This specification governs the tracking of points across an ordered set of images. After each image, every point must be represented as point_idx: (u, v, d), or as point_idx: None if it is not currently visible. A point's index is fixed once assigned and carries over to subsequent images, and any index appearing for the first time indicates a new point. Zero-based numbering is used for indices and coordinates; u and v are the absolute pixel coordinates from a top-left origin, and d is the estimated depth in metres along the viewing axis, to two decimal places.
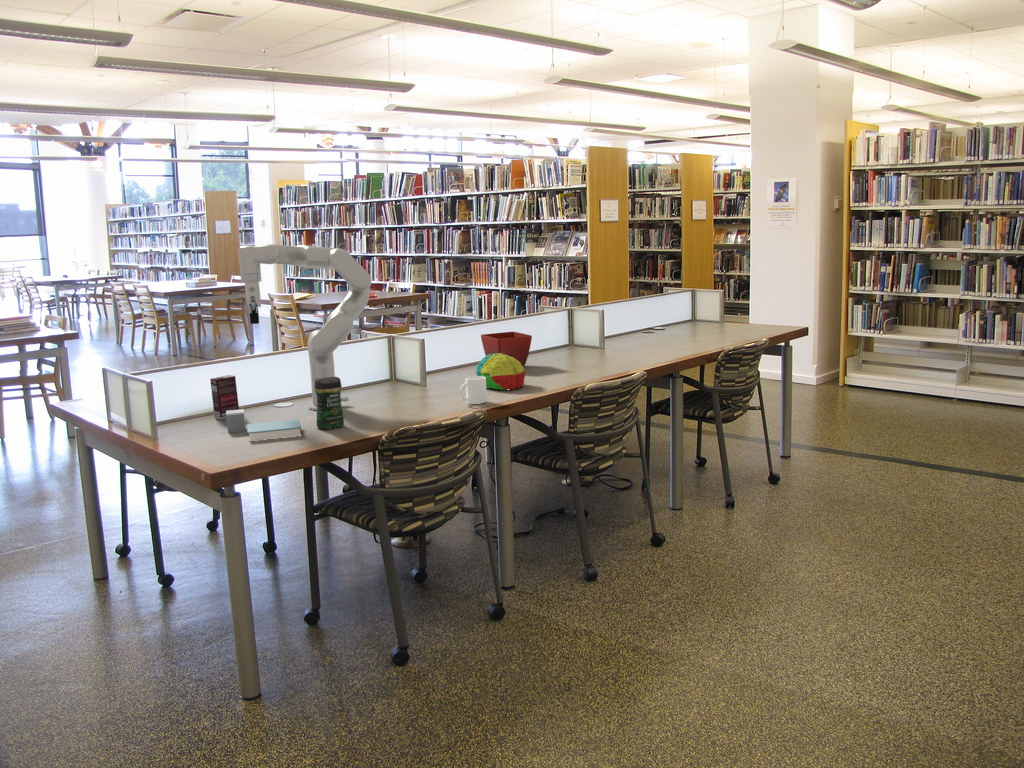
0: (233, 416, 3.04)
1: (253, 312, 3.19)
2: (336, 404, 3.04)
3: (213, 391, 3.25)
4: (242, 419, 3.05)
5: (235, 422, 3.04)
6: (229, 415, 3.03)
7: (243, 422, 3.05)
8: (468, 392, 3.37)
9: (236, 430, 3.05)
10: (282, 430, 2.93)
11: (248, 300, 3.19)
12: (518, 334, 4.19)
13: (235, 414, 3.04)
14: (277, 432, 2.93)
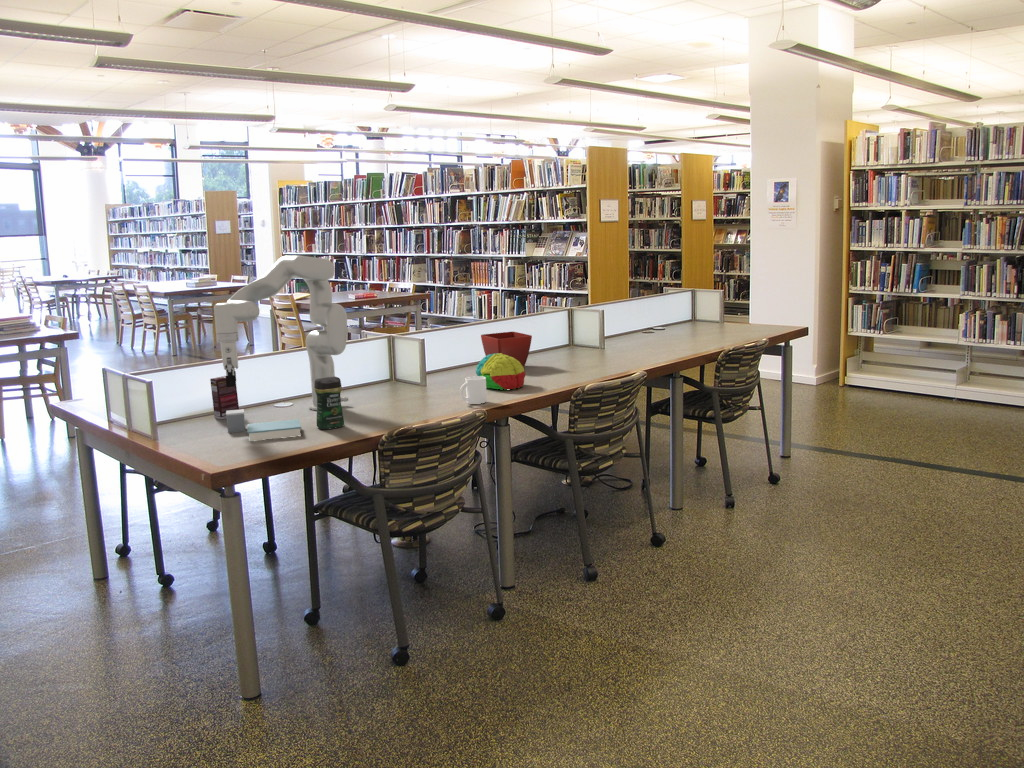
0: (233, 416, 3.04)
1: (229, 374, 2.97)
2: (336, 404, 3.04)
3: (213, 391, 3.25)
4: (242, 419, 3.05)
5: (235, 422, 3.04)
6: (229, 415, 3.03)
7: (243, 422, 3.05)
8: (468, 392, 3.37)
9: (236, 430, 3.05)
10: (282, 430, 2.93)
11: (224, 362, 2.97)
12: (518, 334, 4.19)
13: (235, 414, 3.04)
14: (277, 432, 2.93)
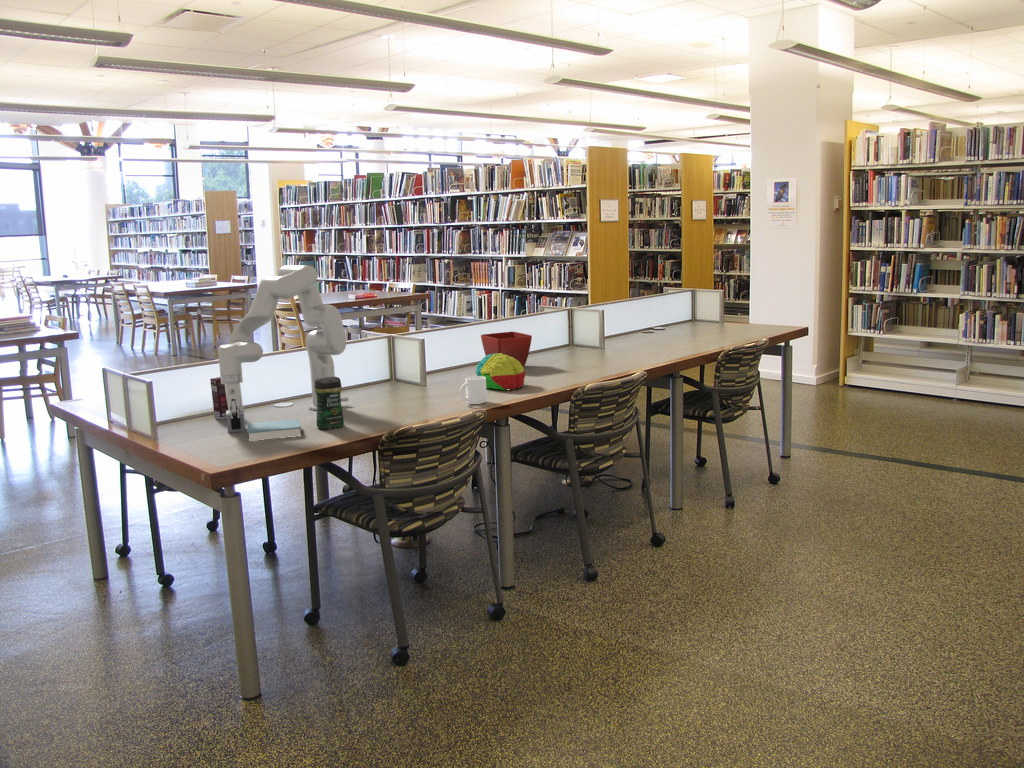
0: None
1: (234, 417, 3.02)
2: (336, 404, 3.04)
3: (213, 391, 3.25)
4: (242, 419, 3.05)
5: None
6: (228, 415, 3.03)
7: (243, 422, 3.05)
8: (468, 392, 3.37)
9: (236, 430, 3.05)
10: (282, 430, 2.93)
11: (229, 403, 3.00)
12: (518, 334, 4.19)
13: None
14: (277, 432, 2.93)
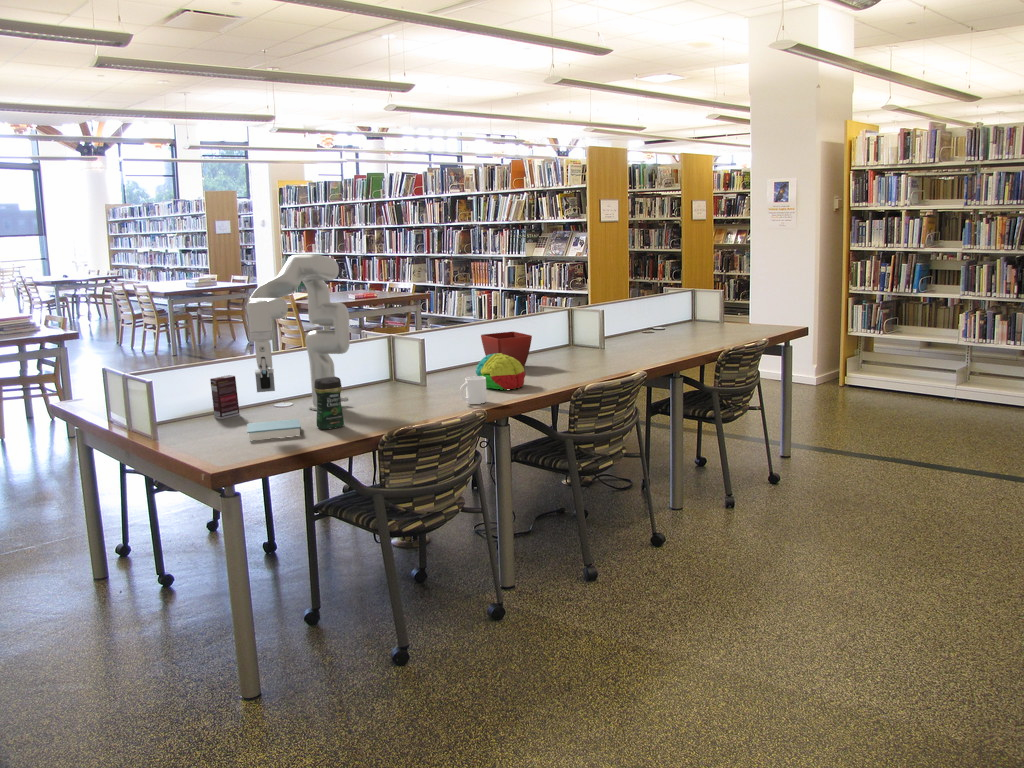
0: None
1: (264, 376, 2.91)
2: (336, 404, 3.04)
3: (213, 391, 3.25)
4: (271, 378, 2.94)
5: None
6: (258, 374, 2.92)
7: (272, 381, 2.94)
8: (468, 392, 3.37)
9: (265, 389, 2.94)
10: (282, 430, 2.94)
11: (258, 361, 2.89)
12: (518, 334, 4.19)
13: None
14: (277, 432, 2.93)
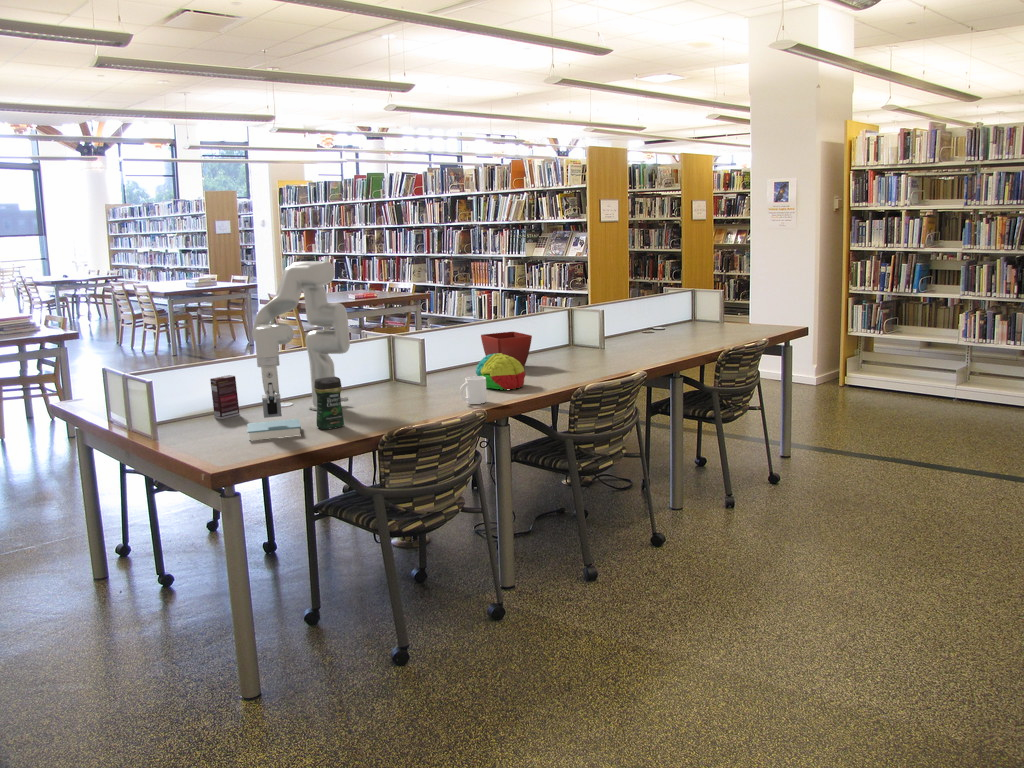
0: None
1: (271, 402, 2.92)
2: (336, 404, 3.04)
3: (213, 391, 3.25)
4: (278, 404, 2.94)
5: None
6: (265, 400, 2.93)
7: (279, 407, 2.95)
8: (468, 392, 3.37)
9: (272, 415, 2.94)
10: (282, 429, 2.94)
11: (265, 387, 2.90)
12: (518, 334, 4.19)
13: None
14: (277, 431, 2.93)
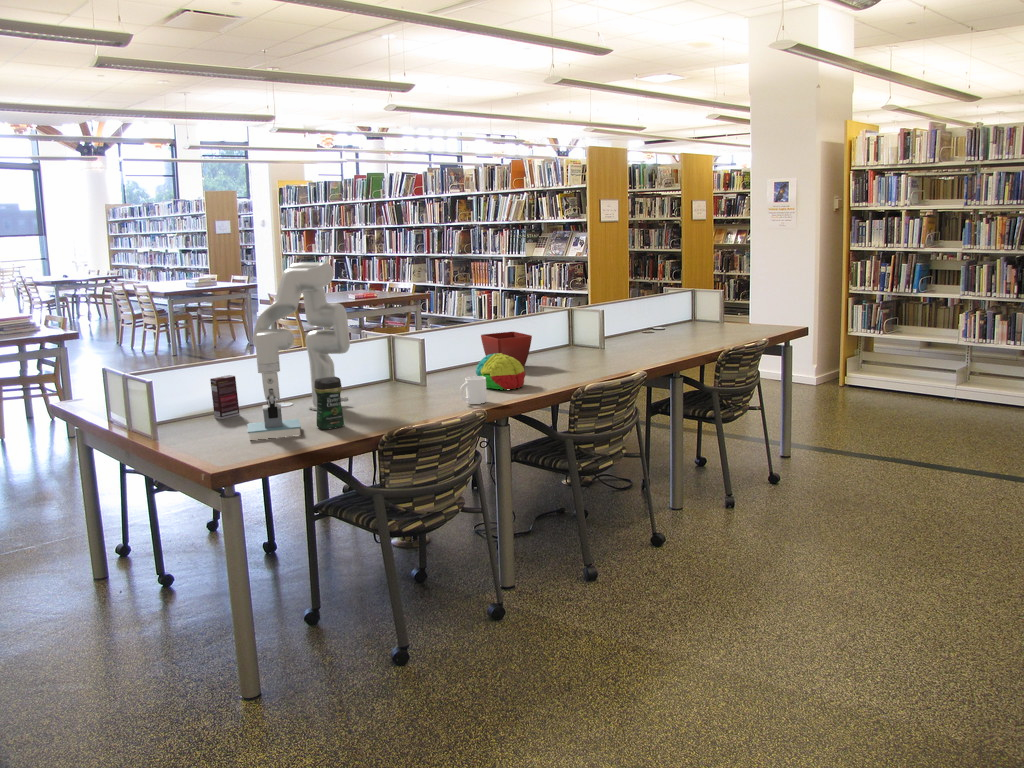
0: None
1: (272, 406, 2.90)
2: (336, 404, 3.04)
3: (213, 391, 3.25)
4: (279, 414, 2.95)
5: None
6: (265, 410, 2.94)
7: (280, 417, 2.96)
8: (468, 392, 3.37)
9: (273, 425, 2.96)
10: (282, 429, 2.94)
11: (266, 393, 2.90)
12: (518, 334, 4.19)
13: None
14: (277, 431, 2.94)
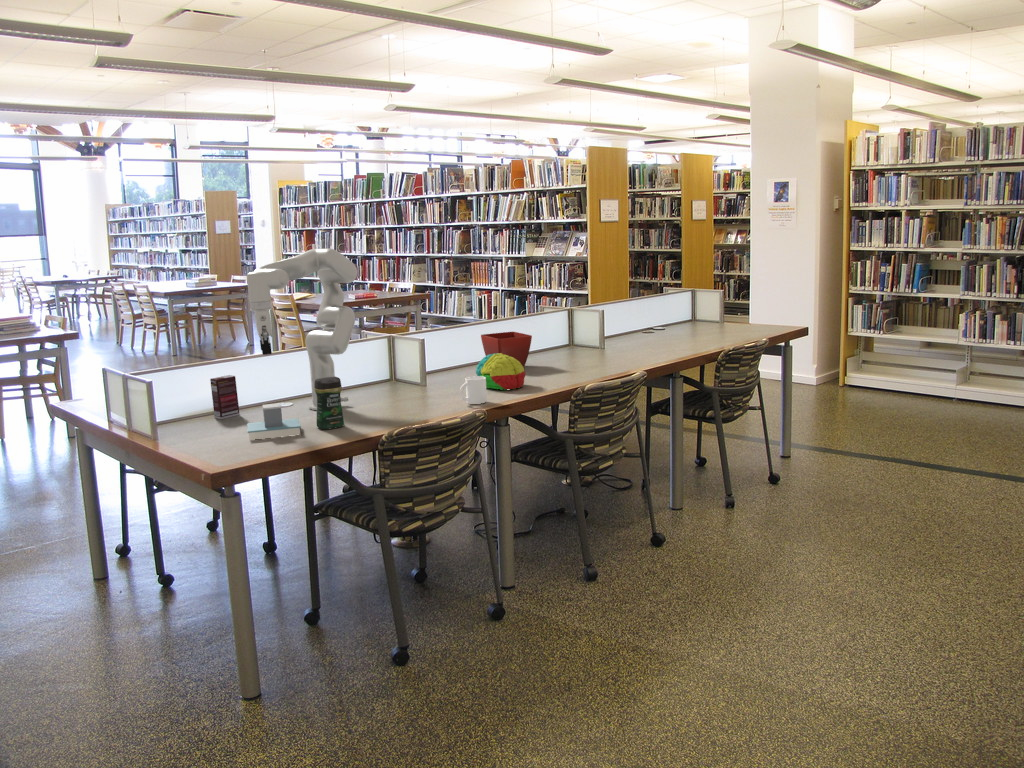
0: (270, 410, 2.95)
1: (265, 342, 3.01)
2: (336, 404, 3.04)
3: (213, 391, 3.25)
4: (279, 413, 2.96)
5: (273, 416, 2.96)
6: (266, 409, 2.95)
7: (280, 416, 2.97)
8: (468, 392, 3.37)
9: (273, 425, 2.96)
10: (282, 429, 2.95)
11: (259, 330, 3.01)
12: (518, 334, 4.19)
13: (272, 408, 2.95)
14: (277, 431, 2.94)
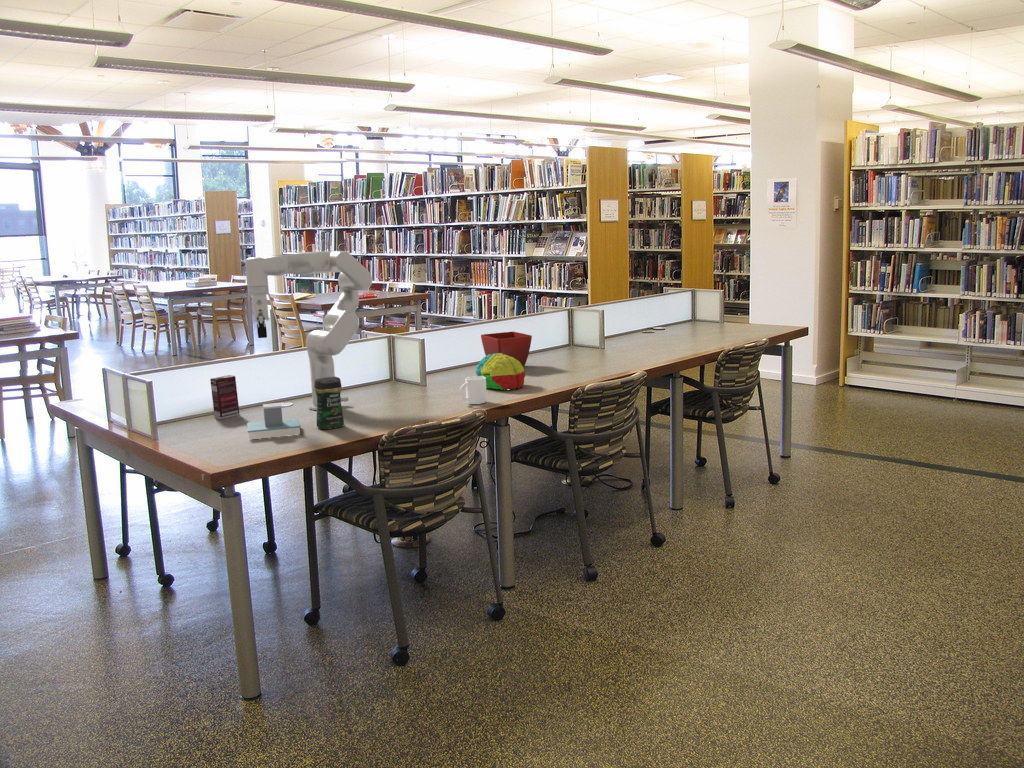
0: (270, 410, 2.96)
1: (261, 326, 3.10)
2: (336, 404, 3.04)
3: (213, 391, 3.25)
4: (280, 413, 2.97)
5: (273, 415, 2.97)
6: (266, 409, 2.95)
7: (280, 416, 2.98)
8: (468, 392, 3.37)
9: (273, 424, 2.97)
10: (282, 429, 2.95)
11: (256, 313, 3.10)
12: (518, 334, 4.19)
13: (272, 407, 2.96)
14: (277, 431, 2.95)
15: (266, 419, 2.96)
